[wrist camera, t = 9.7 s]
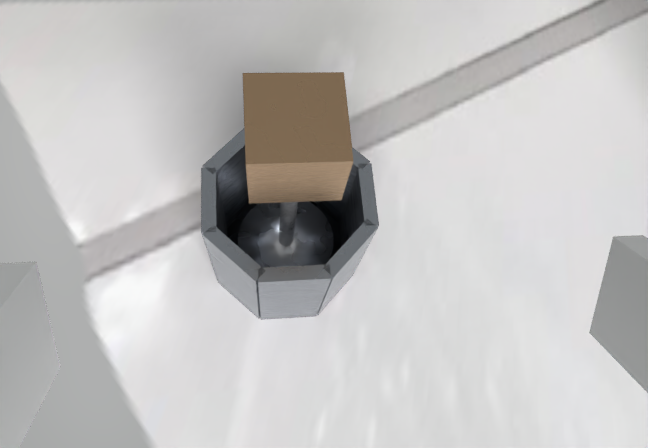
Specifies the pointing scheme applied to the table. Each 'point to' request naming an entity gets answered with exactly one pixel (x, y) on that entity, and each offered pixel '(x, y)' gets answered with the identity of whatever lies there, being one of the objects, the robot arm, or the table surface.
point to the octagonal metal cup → (292, 281)
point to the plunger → (293, 164)
